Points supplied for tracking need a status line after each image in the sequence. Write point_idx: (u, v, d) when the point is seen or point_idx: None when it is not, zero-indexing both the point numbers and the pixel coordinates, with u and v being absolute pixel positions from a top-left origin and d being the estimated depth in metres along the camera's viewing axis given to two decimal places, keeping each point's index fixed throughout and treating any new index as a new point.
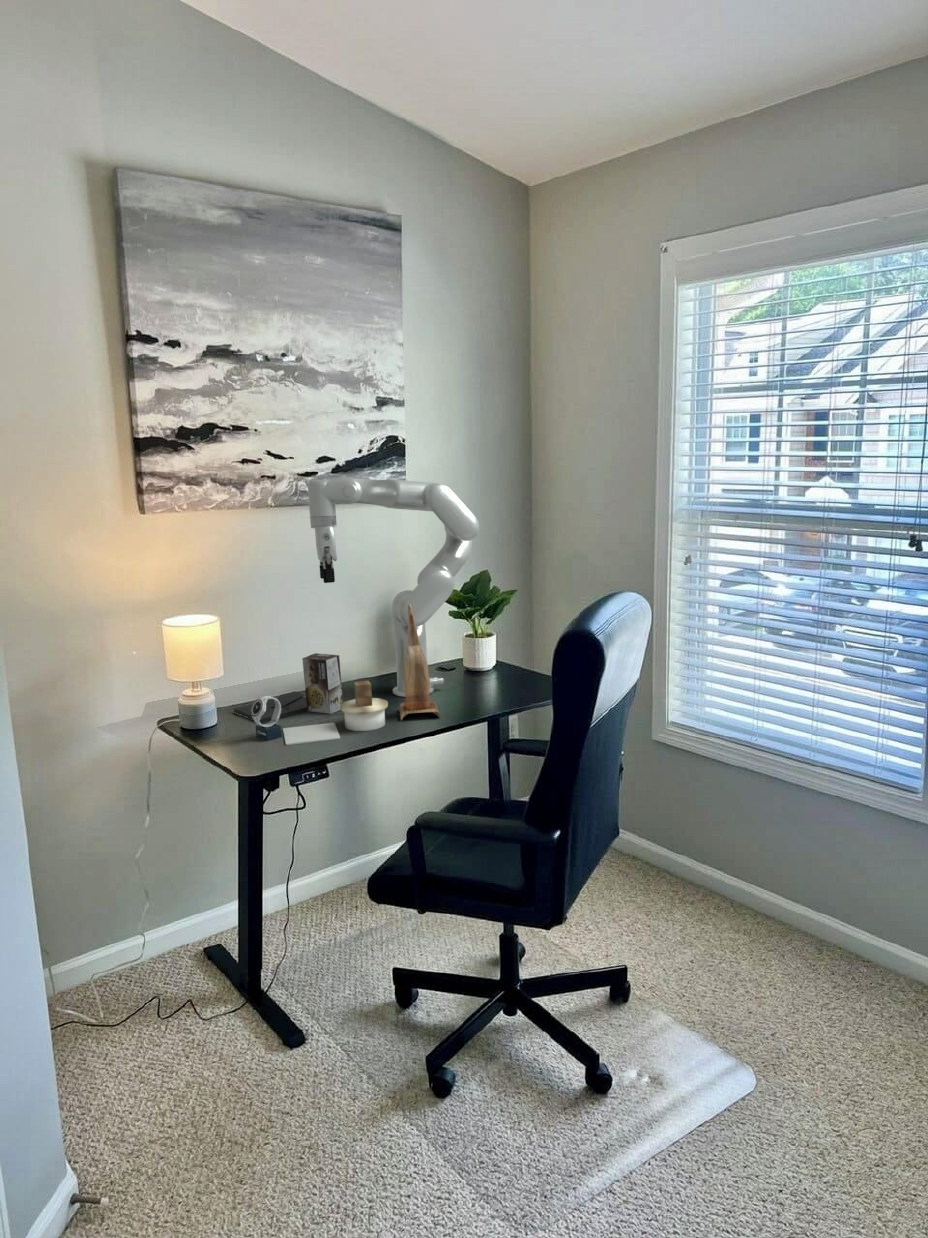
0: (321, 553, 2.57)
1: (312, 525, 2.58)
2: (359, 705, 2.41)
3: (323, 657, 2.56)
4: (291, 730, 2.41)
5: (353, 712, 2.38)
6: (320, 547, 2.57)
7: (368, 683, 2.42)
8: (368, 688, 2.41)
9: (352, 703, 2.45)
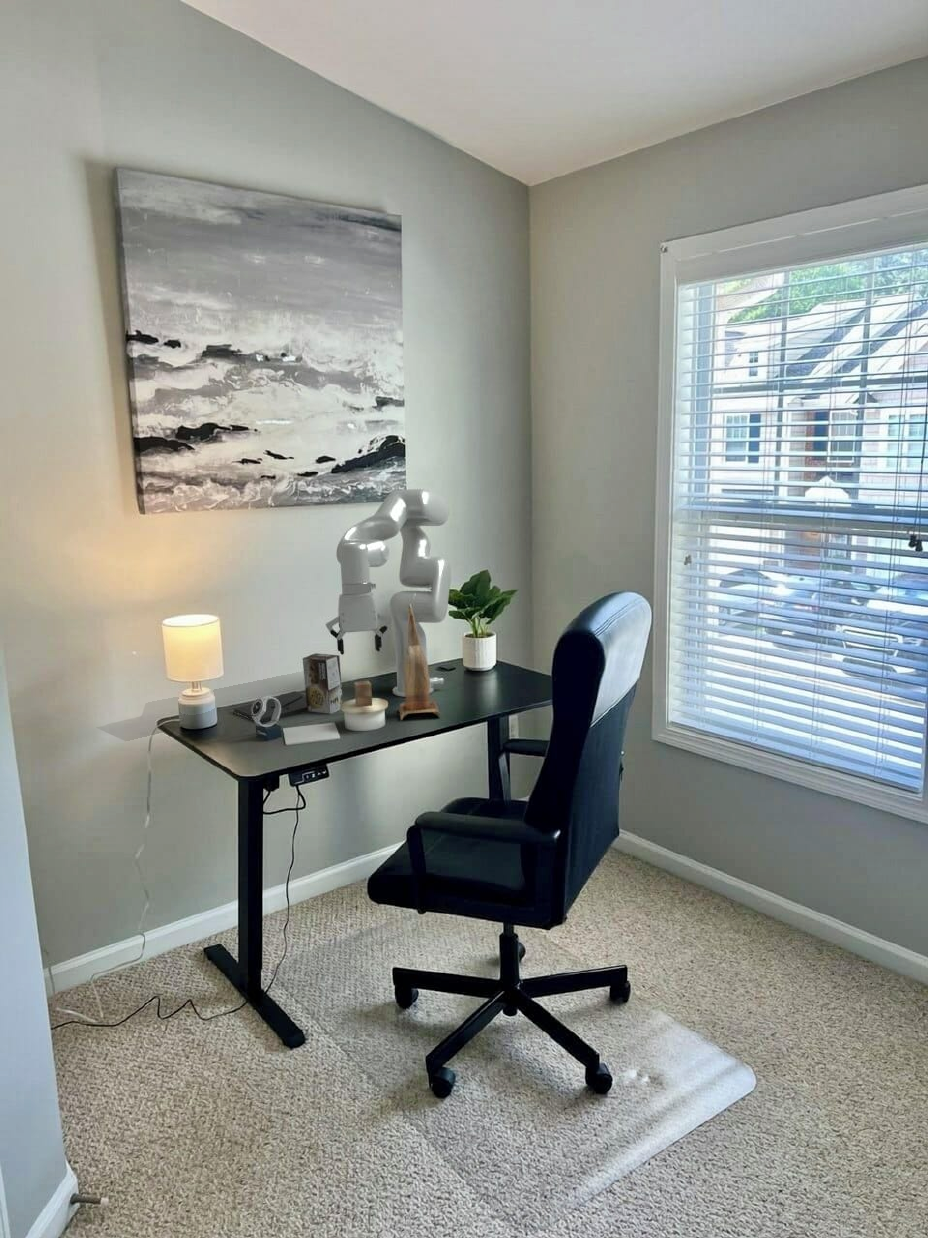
0: (377, 620, 2.39)
1: (364, 592, 2.35)
2: (359, 705, 2.41)
3: (323, 657, 2.56)
4: (291, 730, 2.41)
5: (353, 712, 2.38)
6: (376, 614, 2.38)
7: (368, 683, 2.42)
8: (368, 688, 2.41)
9: (352, 703, 2.45)
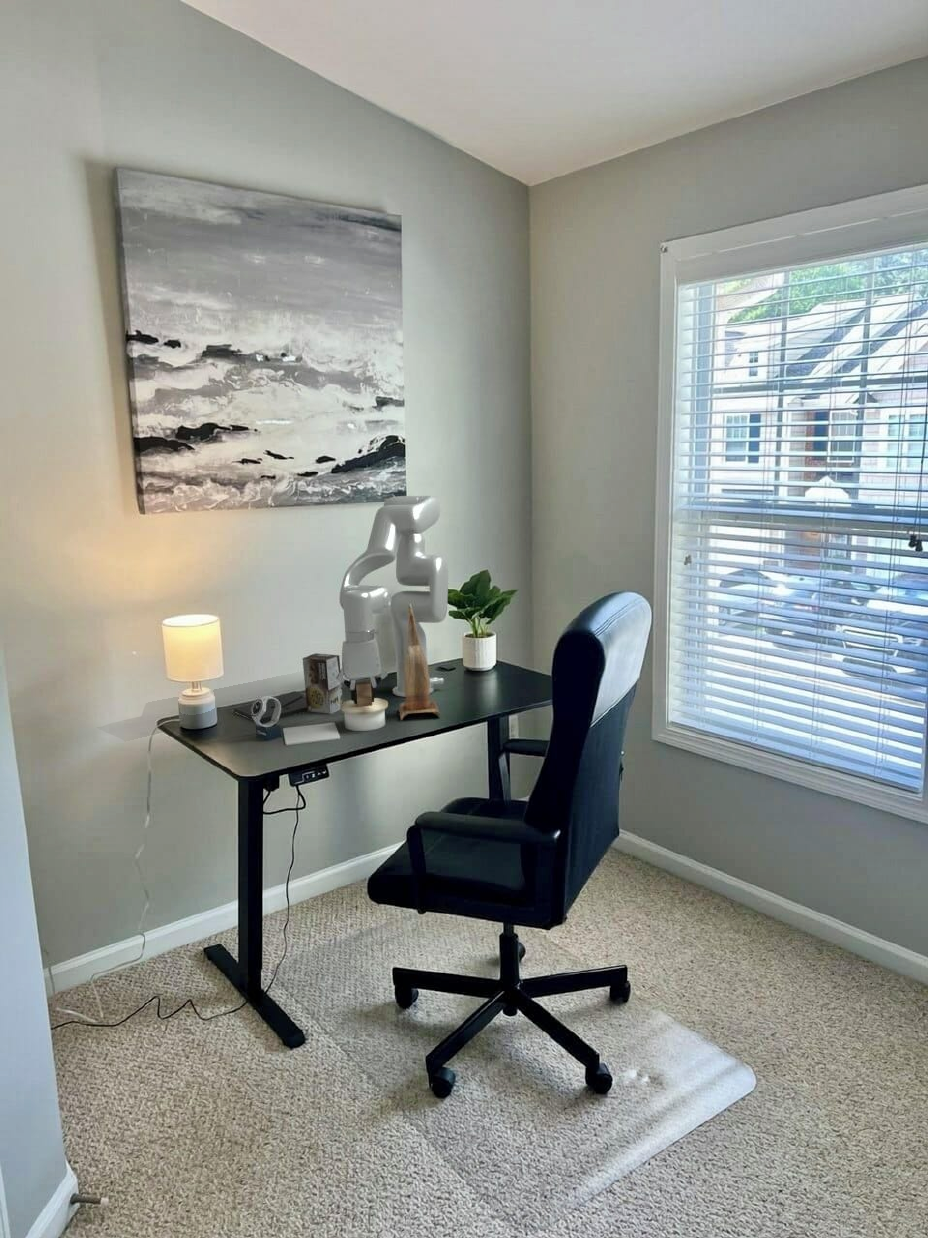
0: (380, 666, 2.41)
1: (367, 640, 2.37)
2: (359, 705, 2.41)
3: (323, 657, 2.56)
4: (291, 730, 2.41)
5: (353, 712, 2.38)
6: (379, 660, 2.41)
7: (368, 683, 2.42)
8: (368, 688, 2.41)
9: (352, 703, 2.45)
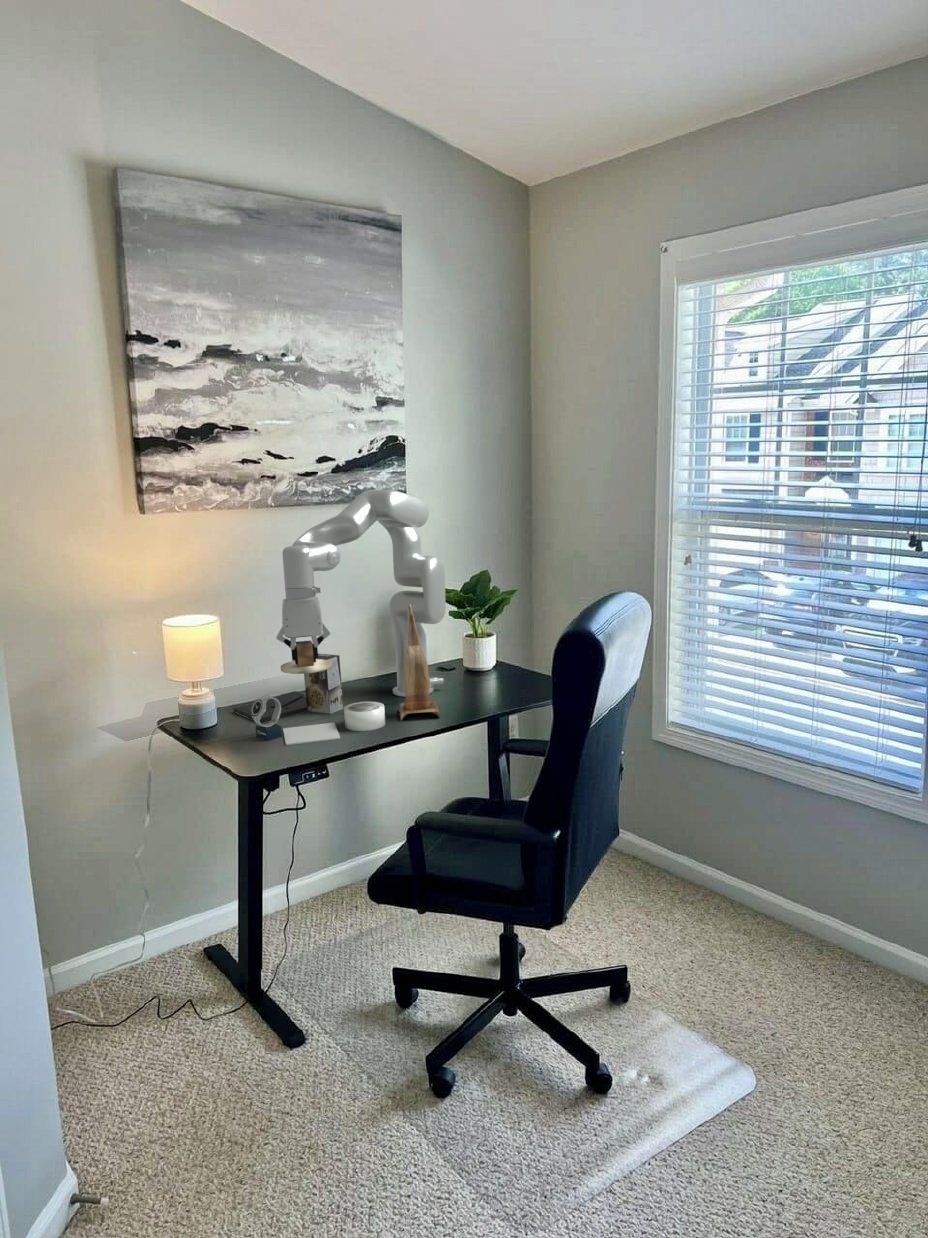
0: (322, 625, 2.32)
1: (307, 597, 2.28)
2: (300, 665, 2.32)
3: (323, 657, 2.56)
4: (291, 730, 2.41)
5: (293, 672, 2.29)
6: (321, 619, 2.32)
7: (309, 642, 2.33)
8: (310, 647, 2.32)
9: (294, 664, 2.36)
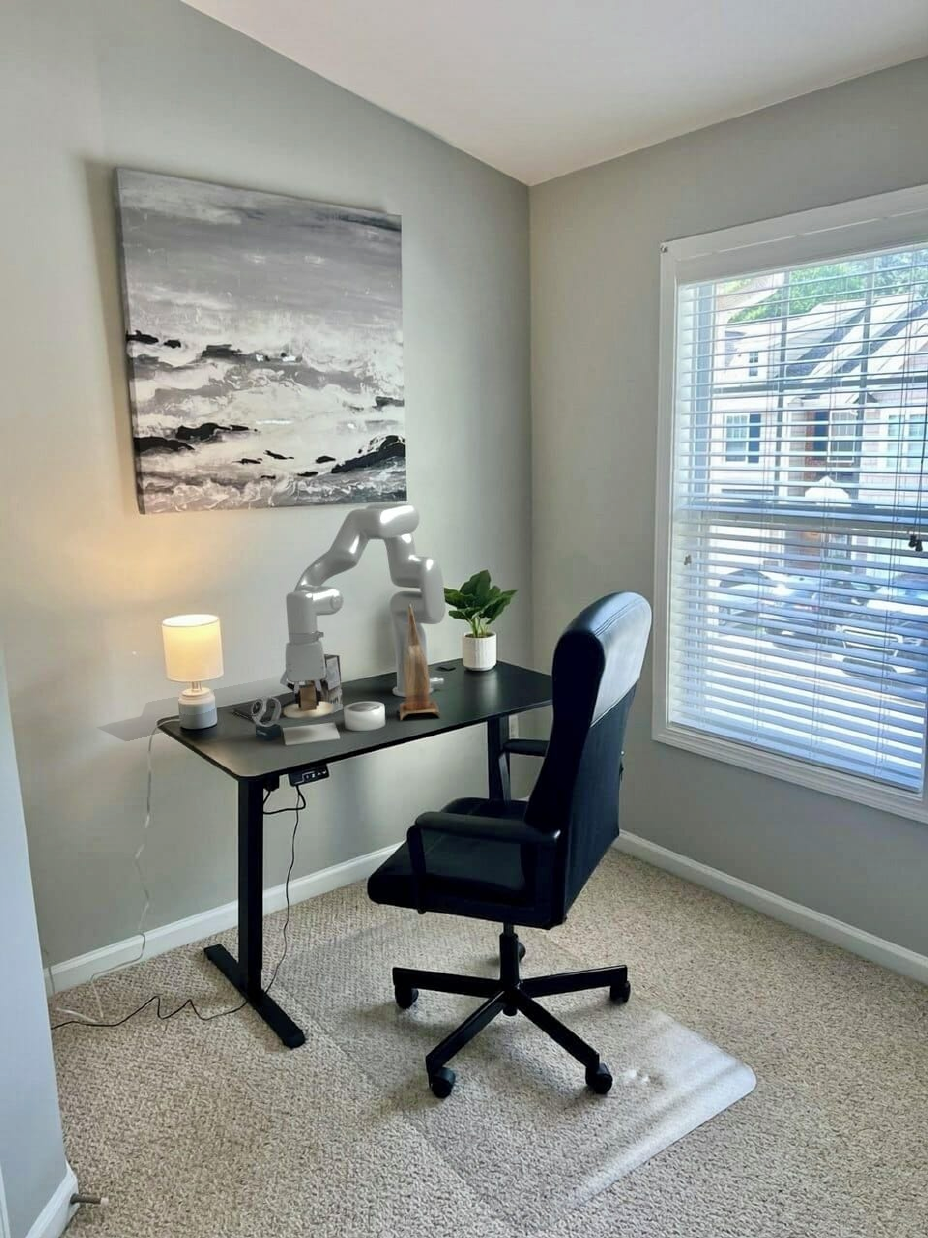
0: (325, 669, 2.35)
1: (310, 642, 2.31)
2: (303, 709, 2.34)
3: None
4: (291, 730, 2.41)
5: (296, 716, 2.31)
6: (324, 663, 2.34)
7: (313, 686, 2.35)
8: (313, 691, 2.34)
9: (297, 707, 2.38)
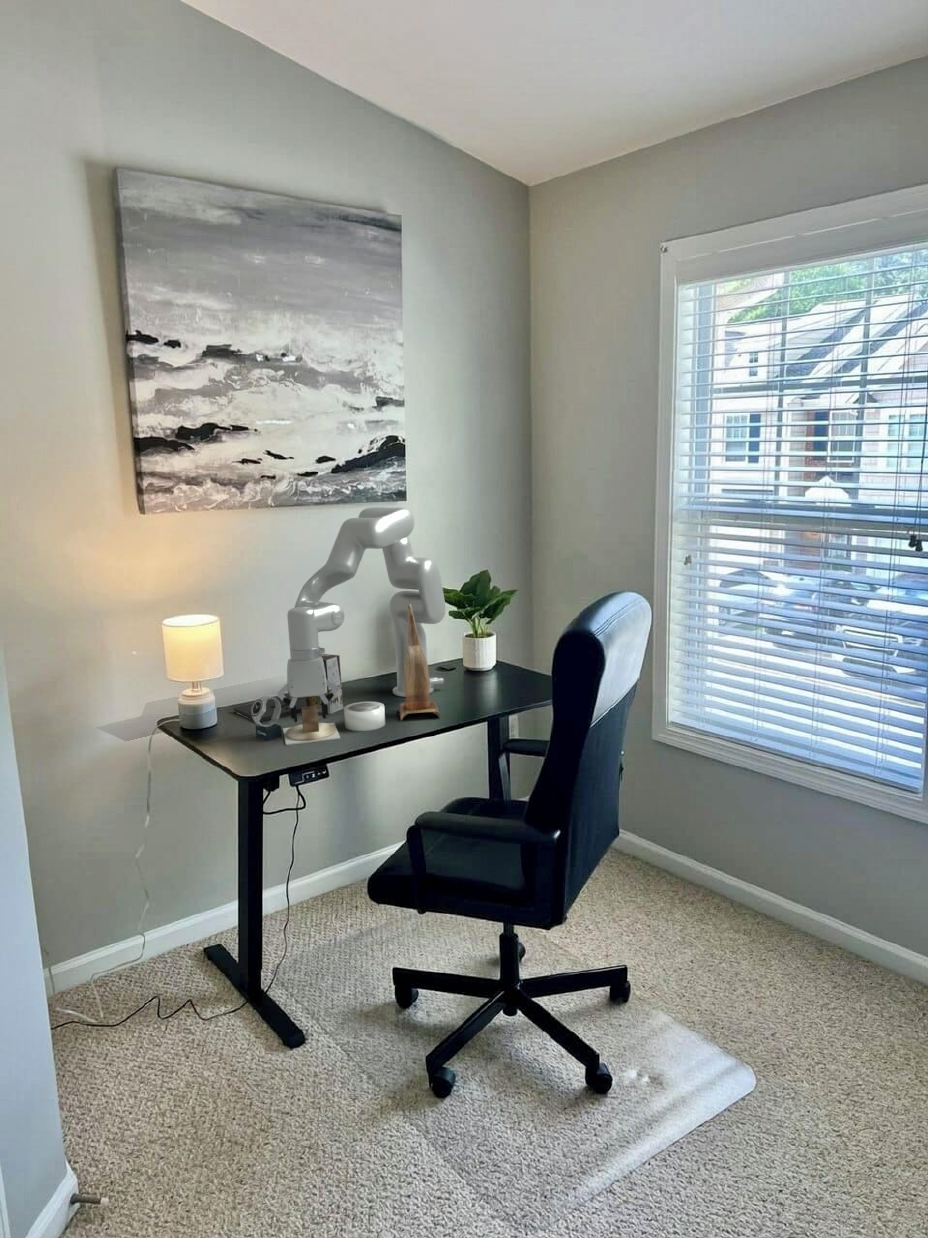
0: (326, 685, 2.35)
1: (312, 658, 2.32)
2: (305, 731, 2.36)
3: (323, 657, 2.56)
4: None
5: (298, 738, 2.32)
6: (325, 679, 2.35)
7: (315, 708, 2.36)
8: (315, 714, 2.36)
9: (299, 728, 2.40)
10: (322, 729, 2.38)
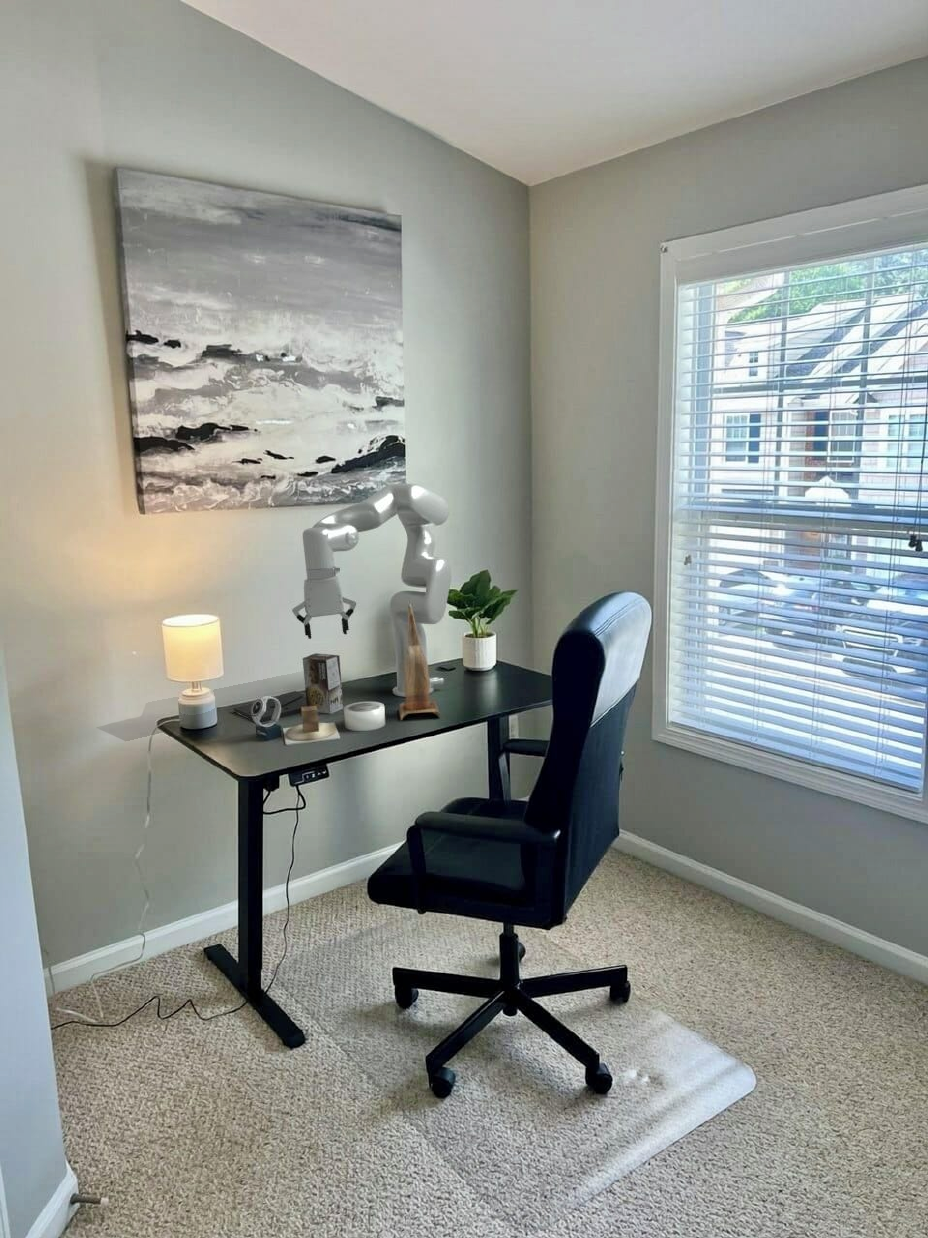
0: None
1: (328, 577, 2.37)
2: (305, 731, 2.36)
3: (323, 657, 2.56)
4: None
5: (298, 739, 2.32)
6: (341, 597, 2.40)
7: (315, 708, 2.36)
8: (315, 714, 2.36)
9: (299, 729, 2.40)
10: (322, 729, 2.38)
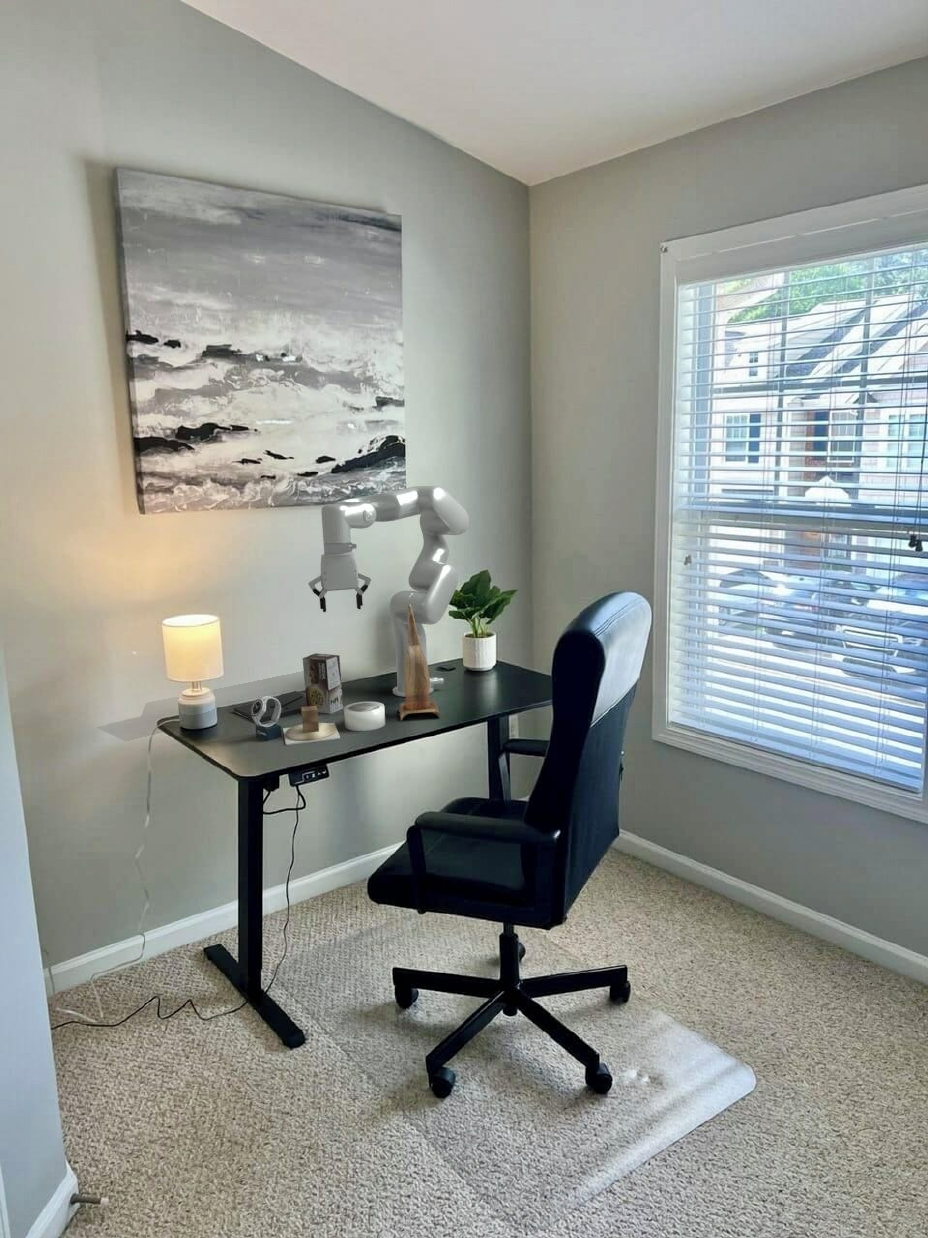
0: None
1: (344, 552, 2.44)
2: (305, 731, 2.36)
3: (323, 657, 2.56)
4: None
5: (298, 739, 2.32)
6: (357, 573, 2.47)
7: (315, 708, 2.36)
8: (315, 714, 2.36)
9: (299, 728, 2.40)
10: (322, 729, 2.38)
